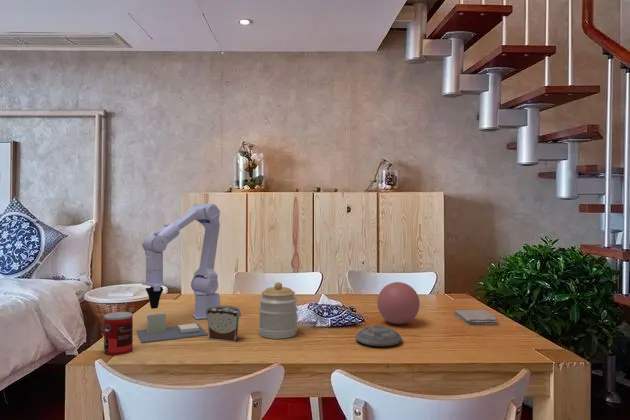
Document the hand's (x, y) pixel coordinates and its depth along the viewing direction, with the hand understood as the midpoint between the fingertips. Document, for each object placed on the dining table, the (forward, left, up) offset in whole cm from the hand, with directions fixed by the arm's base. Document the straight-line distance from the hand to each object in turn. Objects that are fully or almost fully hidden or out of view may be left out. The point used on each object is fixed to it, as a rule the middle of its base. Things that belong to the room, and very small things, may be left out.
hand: (154, 308), depth 166 cm
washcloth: (-113, +38, -8) cm, 120 cm away
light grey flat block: (-10, +6, -6) cm, 13 cm away
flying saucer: (-63, +46, -8) cm, 79 cm away
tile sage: (0, +5, -7) cm, 9 cm away
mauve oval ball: (-83, +28, -8) cm, 88 cm away
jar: (-37, +24, -8) cm, 45 cm away
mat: (-5, +8, -7) cm, 12 cm away
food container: (-20, +21, -8) cm, 30 cm away
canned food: (+13, +21, -8) cm, 26 cm away
